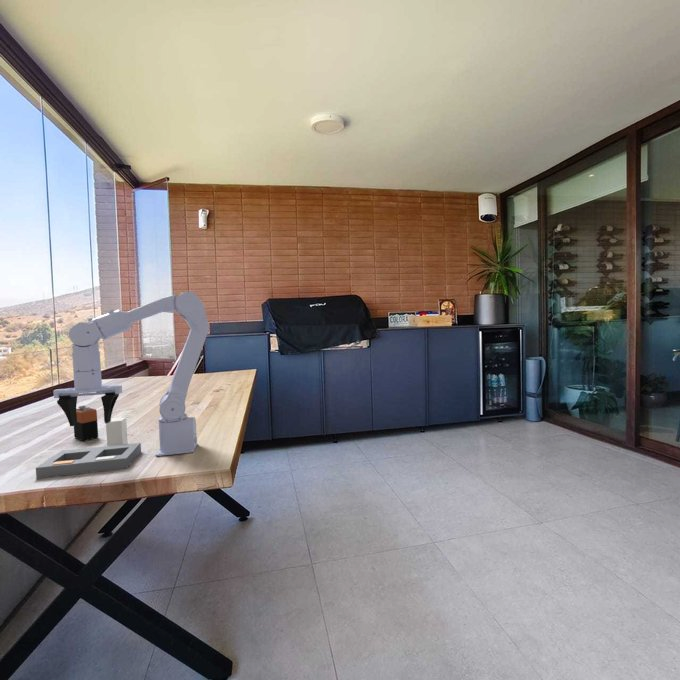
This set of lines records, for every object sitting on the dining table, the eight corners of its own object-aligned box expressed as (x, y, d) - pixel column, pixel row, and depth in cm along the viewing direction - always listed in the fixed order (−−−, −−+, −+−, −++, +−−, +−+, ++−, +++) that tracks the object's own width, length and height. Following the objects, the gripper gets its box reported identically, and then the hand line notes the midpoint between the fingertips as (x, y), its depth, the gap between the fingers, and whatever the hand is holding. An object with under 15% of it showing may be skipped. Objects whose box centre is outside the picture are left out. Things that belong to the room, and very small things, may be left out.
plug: (127, 443, 108) (126, 417, 107) (123, 448, 104) (121, 420, 104) (112, 445, 107) (111, 418, 106) (107, 449, 103) (105, 422, 103)
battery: (89, 434, 119) (87, 404, 118) (99, 437, 115) (97, 406, 114) (73, 438, 115) (71, 407, 114) (83, 441, 111) (81, 409, 111)
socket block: (141, 451, 101) (140, 442, 100) (127, 468, 89) (126, 457, 89) (62, 459, 96) (61, 449, 96) (36, 478, 84) (35, 467, 84)
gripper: (45, 374, 86) (49, 431, 86) (113, 370, 89) (117, 425, 90) (60, 370, 92) (63, 423, 93) (123, 367, 96) (126, 418, 97)
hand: (90, 423), depth 92 cm, fingers open, 7 cm apart
